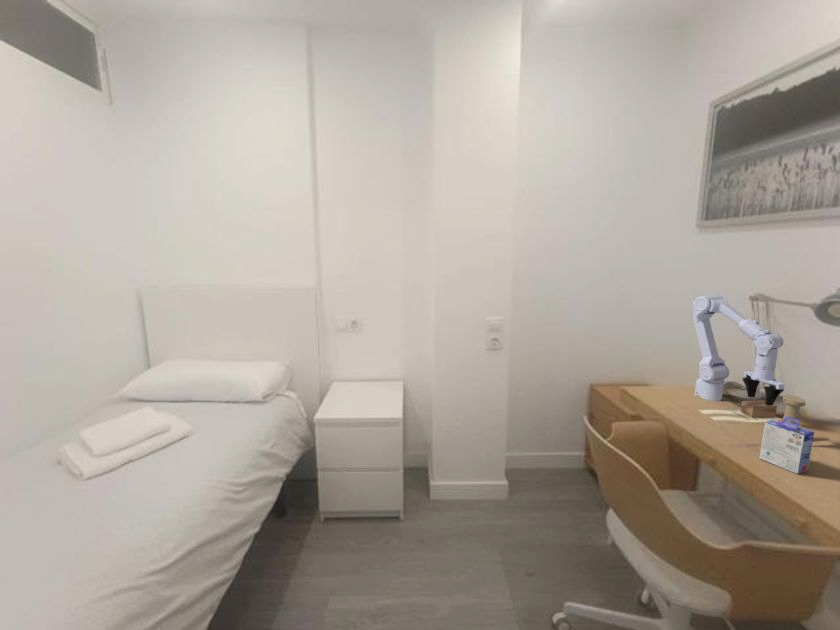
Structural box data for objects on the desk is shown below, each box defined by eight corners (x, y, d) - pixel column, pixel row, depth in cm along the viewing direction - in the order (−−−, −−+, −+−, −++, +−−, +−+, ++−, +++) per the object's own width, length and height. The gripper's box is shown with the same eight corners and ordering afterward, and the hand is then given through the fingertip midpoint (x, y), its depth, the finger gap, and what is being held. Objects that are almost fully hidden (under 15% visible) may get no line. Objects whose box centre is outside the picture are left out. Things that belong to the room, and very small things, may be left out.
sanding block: (740, 412, 152) (741, 401, 151) (763, 411, 152) (765, 400, 151) (751, 417, 147) (753, 406, 146) (775, 417, 147) (777, 405, 146)
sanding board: (688, 411, 157) (688, 407, 156) (757, 408, 158) (757, 405, 157) (719, 430, 141) (720, 426, 141) (796, 427, 142) (797, 423, 142)
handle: (790, 437, 135) (796, 395, 132) (802, 446, 129) (809, 403, 126) (773, 435, 136) (779, 394, 134) (784, 445, 130) (791, 401, 128)
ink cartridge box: (809, 470, 116) (817, 424, 113) (798, 475, 114) (806, 428, 111) (768, 454, 125) (775, 411, 122) (758, 458, 123) (764, 414, 120)
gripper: (738, 360, 153) (733, 393, 155) (772, 372, 139) (766, 409, 141) (756, 359, 153) (751, 393, 156) (792, 372, 139) (786, 408, 141)
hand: (759, 400), depth 148 cm, fingers open, 7 cm apart
